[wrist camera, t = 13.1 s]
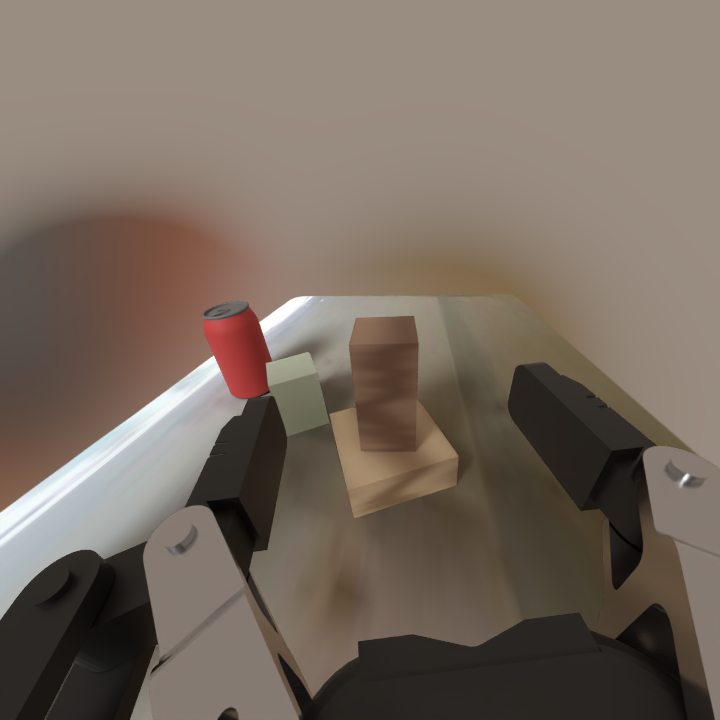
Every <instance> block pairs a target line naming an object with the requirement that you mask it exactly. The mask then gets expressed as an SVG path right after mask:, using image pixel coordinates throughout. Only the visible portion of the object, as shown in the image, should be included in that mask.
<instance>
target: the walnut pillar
mask: <svg viewBox="0 0 720 720" xmlns="http://www.w3.org/2000/svg"><path fill="white" fill-rule="evenodd" d="M349 350H350V359H351V368H352V377H353V386H354V395H355V404H356V413H357V422H358V431H359V440H360V448H361V451H401V452H416V416H417V379H418V337H417V331H416V325H415V319H414V316H398V317H372V318H356V320H355V324H354V328H353V331H352V335H351V339H350V343H349Z"/></svg>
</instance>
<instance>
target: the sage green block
mask: <svg viewBox="0 0 720 720" xmlns="http://www.w3.org/2000/svg"><path fill="white" fill-rule="evenodd" d="M266 370H267V380H268V387H269V390H270V393H271V396H273V397H274V398H275V400H276V403H277V406H278V408H279V411H280V414H281V417H282V420H283V423H284V426H285V430H286V435H287V437H288V436H291V435H294V434H297V433H300V432H303V431H306V430H309V429H312V428H315V427H319V426H322V425H325V424H328V423H330V422H329V418H328V414H327V410H326V406H325V402H324V398H323V394H322V390H321V386H320V382H319V377H318V373H317V370H316V368H315V366H314V363H313V361H312V358H311V356H310V353H309V352H306V353H302V354H299V355H295V356H291V357H287V358H284V359H280V360H276V361H273V362H269V363H266Z"/></svg>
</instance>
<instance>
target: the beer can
mask: <svg viewBox="0 0 720 720" xmlns="http://www.w3.org/2000/svg"><path fill="white" fill-rule="evenodd" d="M202 318H203V327H204V333H205V336H206V338H207V341H208V343H209V345H210V347H211V349H212V352H213V354H214V356H215V359H216V361H217V363H218V365H219V367H220V370H221V372H222V374H223V376H224V379H225V381H226V383H227V385H228V388H229V390H230V392H231V394H232V395H234V396H235V397H237V398H241V399H250V398H255V397H258V396H261V395H263V394H265V393H266V392H268V391H269V387H268V380H267V370H266V363H269V362H272V360H271V357H270V354H269V351H268V348H267V345H266V342H265V339H264V336H263V333H262V330H261V327H260V324H259V321H258V318H257V317H256V315H255V314H254V312H253V311H252V310H251V309H250V307H249V304H248V303H247V302H245V301H232V302H226V303H223V304H219V305H216V306H213V307H211V308H209V309H207V310H206V311H205V312H203V314H202Z"/></svg>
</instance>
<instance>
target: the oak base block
mask: <svg viewBox="0 0 720 720" xmlns="http://www.w3.org/2000/svg"><path fill="white" fill-rule="evenodd" d="M329 416H330V420H331V424H332V428H333V433H334V437H335V441H336V445H337V449H338V453H339V457H340V462H341V466H342V470H343V474H344V478H345V482H346V486H347V490H348V495H349V499H350V503H351V507H352V511H353V515H354V518H357V517H360V516H363V515H367V514H370V513H373V512H376V511H379V510H382V509H385V508H388V507H391V506H394V505H397V504H400V503H403V502H406V501H410V500H413V499H416V498H419V497H422V496H425V495H428V494H431V493H434V492H437V491H440V490H443V489H446V488H449V487H453V486H456V485H457V473H458V458H459V456H458V454H457V453H456V452H455V450H454V449H453V447H452V446H451V445H450V443H449V442H448V440H447V439H446V438H445V436H444V435H443V433H442V432H441V431H440V429H439V428H438V426H437V425H436V424H435V422H434V421H433V419H432V418H431V417H430V415H429V414H428V412H427V411H426V410H425V408H424V407H423V405H422V404H421V403H420V401H419V400H418V398H417V416H416V452H401V451H361V448H360V440H359V431H358V422H357V413H356V407H353V408H350V409H346V410H342V411H338V412H334V413H331V414H329Z"/></svg>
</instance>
